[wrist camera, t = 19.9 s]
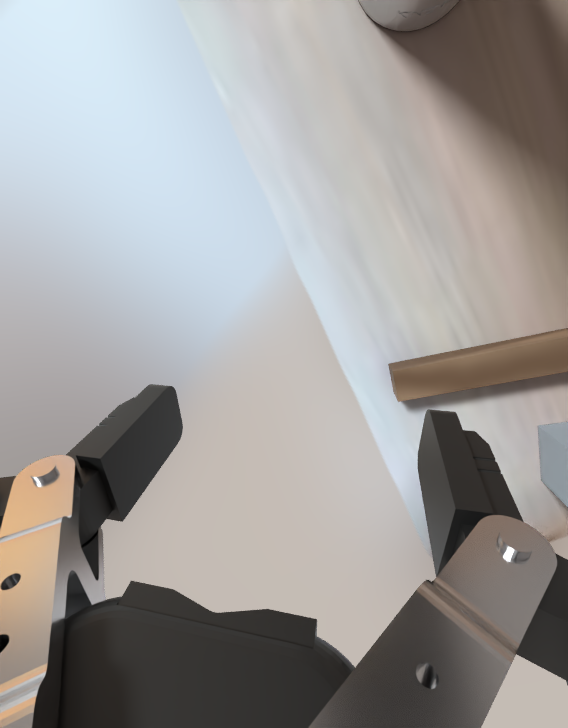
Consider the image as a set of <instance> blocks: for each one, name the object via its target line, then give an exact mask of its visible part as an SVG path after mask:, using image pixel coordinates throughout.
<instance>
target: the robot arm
mask: <svg viewBox="0 0 568 728" xmlns="http://www.w3.org/2000/svg"><path fill="white" fill-rule="evenodd" d="M358 1H359V2H360V4H361V6H362V7H363V9H364V11H365V12H366V13H367V14H368V15H369V16H370V17H371V18H372V19H373V20H374V21H375V22H377V23H378V24H380V25H382V26H383V27H385V28H389V29H392V30H395V31H412V30H417V29H422V28H424V27H426V26H428V25H430V24H433V23H435V22H436V21H438V20H439V19H440V18H442V17H443V16H444V15H446V14H447V13H448V12H449V11H450V10H451V9H452V8H453V7H454V6H455V5H456V4H457V3H458V1H459V0H358ZM182 429H183V426H182V419H181V414H180V409H179V405H178V399H177V394H176V391H175V389H174V387H172V386H163V385H148V386H147V387H146V388H145V389H144V390H143V391H142V392H141V393H140V394H139V395H138V396H137V397H135V398H132V399H130V400H129V401H126V402H125V403H123V404H122V405H119V406H118V407H117V408H116V409H115V410H114V411H113V412H112V413H111V414H109V415H108V418H105V419H104V420H103V421H102V422H101V423H100V424H99V426H97V427H96V428H94V429H93V430H92V431H91V432H90V433H89V434H88V435H87V436H86V437H85V438H84V439H83V440H81V441H80V442H79V443H78V444H77V445H76V446H75V447H74V448H73V449H72V450H71V451H70V452H69V453H68V454H66V455H54V456H49V457H46V458H43V459H40V460H38V461H36V462H34V463H32V464H30V465H29V466H27V467H26V468H24V469H23V470H22V471H21V472H20V473H19V474H18V475H17V476H13V477H4V478H0V728H481V726H482V724H483V722H484V720H485V718H486V716H487V714H488V712H489V710H490V707H491V705H492V703H493V701H494V699H495V697H496V695H497V693H498V691H499V689H500V687H501V684H502V682H503V680H504V678H505V676H506V674H507V672H508V670H509V668H510V666H511V664H512V662H513V660H514V657H515V655H516V654H517V655H519V656H521V657H523V658H525V659H527V660H529V661H530V662H532V663H534V664H536V665H538V666H540V667H542V668H544V669H546V670H548V671H550V672H551V673H553V674H555V675H557V676H559V677H561V678H563V679H565V680H566V682H567V685H568V560H567V559H565V558H563V557H561V556H559V555H557V554H556V553H555V552H554V550H553V548H552V546H551V545H550V543H549V542H548V541H547V540H546V539H545V537H544V536H542V535H541V534H540V533H539V532H538V531H537V530H535V529H534V528H533V527H531V526H529V525H528V524H526V523H524V522H523V520H522V517H521V515H520V513H519V511H518V508H517V506H516V504H515V502H514V500H513V497H512V495H511V493H510V491H509V488H508V486H507V484H506V482H505V480H504V477H503V475H502V474H501V471H500V468H499V466H498V464H497V462H495V457H494V455H493V453H492V451H491V448H490V446H489V444H488V443H487V442H486V441H485V440H483V439H482V438H481V437H480V436H479V435H478V434H477V433H476V432H475V431H465V430H463V429H462V427H461V424H460V421H459V419H458V416H457V414H456V412H450V411H439V410H427V411H426V414H425V419H424V424H423V429H422V435H421V440H420V445H419V451H418V473H419V479H420V485H421V491H422V497H423V503H424V508H425V514H426V520H427V526H428V532H429V538H430V543H431V549H432V555H433V561H434V567H435V573H436V579H435V580H434V581H432V582H431V581H429V580H426V581H424V582H423V583H422V584H421V585H420V586H419V588H418V589H417V590H416V591H415V592H414V594H413V595H412V596H411V598H410V599H409V600H408V601H407V603H406V604H405V605H404V607H403V608H402V609H401V610H400V612H399V613H398V614H397V615H396V617H395V618H394V620H392V622H391V623H390V624H389V626H388V627H387V628H386V629H385V631H384V632H383V633H382V634H381V636H380V637H379V638H378V640H377V641H376V642H375V643H374V645H373V646H372V647H371V649H370V650H369V651H368V652H367V654H366V655H365V656H364V657H363V659H362V660H361V661H360V663H359V664H358V665H357V666H356V668H355V667H354V666H353V665H352V664H351V662H350V661H349V660H348V659H347V658H346V657H345V656H343V655H342V654H341V653H340V652H339V651H338V650H337V649H336V648H334V647H333V646H331V645H330V644H329V643H327V642H326V641H324V640H322V639H321V638H319V637H317V619H312V618H307V617H303V616H298V615H293V614H289V613H284V612H279V611H274V610H269V609H262V610H250V611H238V612H224V613H215V612H212V611H209V610H208V609H206V608H204V607H202V606H201V605H199V604H197V603H195V602H194V601H192V600H191V599H189V598H187V597H185V596H184V595H182V594H180V593H178V592H177V591H175V590H173V589H169V588H164V587H159V586H154V585H149V584H145V583H139V582H134V581H131V582H130V584H129V586H128V587H127V589H126V591H125V593H124V594H123V596H122V597H117V598H112V599H107V600H106V597H105V589H104V554H103V532H102V529H101V525H102V524H103V522H104V521H105V520H106V519H111V520H116V521H123V520H124V519H125V517H126V516H127V515H128V513H129V512H130V510H131V509H132V508H133V506H134V505H135V503H136V502H137V500H138V499H139V497H140V496H141V495H142V493H143V492H144V491H145V489H146V488H147V486H148V485H149V483H150V482H151V480H152V479H153V478H154V476H155V475H156V474H157V472H158V471H159V469H160V468H161V466H162V465H163V464H164V462H165V461H166V459H167V458H168V457H169V455H170V454H171V452H172V451H173V449H174V448H175V447H176V445H177V444H178V442H179V440H180V438H181V435H182Z"/></svg>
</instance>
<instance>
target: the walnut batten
mask: <svg viewBox="0 0 568 728" xmlns="http://www.w3.org/2000/svg"><path fill="white" fill-rule="evenodd" d="M388 365H389V370H390V375H391V380H392V386H393V391H394V394H395V396H396V398H397V400H398V402H400V401H405V400H411V399H416V398H422V397H428V396H433V395H439V394H445V393H450V392H456V391H461V390H467V389H473V388H478V387H484V386H489V385H495V384H501V383H506V382H512V381H518V380H523V379H529V378H534V377H540V376H546V375H551V374H557V373H563V372H568V328H566V329H561V330H556V331H551V332H546V333H541V334H536V335H531V336H526V337H521V338H516V339H511V340H506V341H501V342H496V343H491V344H486V345H481V346H476V347H471V348H466V349H460V350H455V351H450V352H445V353H440V354H435V355H430V356H425V357H420V358H415V359H410V360H405V361H400V362H395V363H390V364H388Z"/></svg>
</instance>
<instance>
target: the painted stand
mask: <svg viewBox="0 0 568 728" xmlns="http://www.w3.org/2000/svg"><path fill="white" fill-rule="evenodd" d="M538 436H539V452H540V468H541V481H542V482H543V483H544V484H545V485H546V486H547V487H548V488H549V489H550V490H551V491H552V492H553V493H554V494H555V495H556V496H557V497H558V498H559V499H560V500H561V501H562V502H563V503H564V504H565V505H566V506H567V507H568V422H563V423H555V424H548V425H540V426H538Z"/></svg>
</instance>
